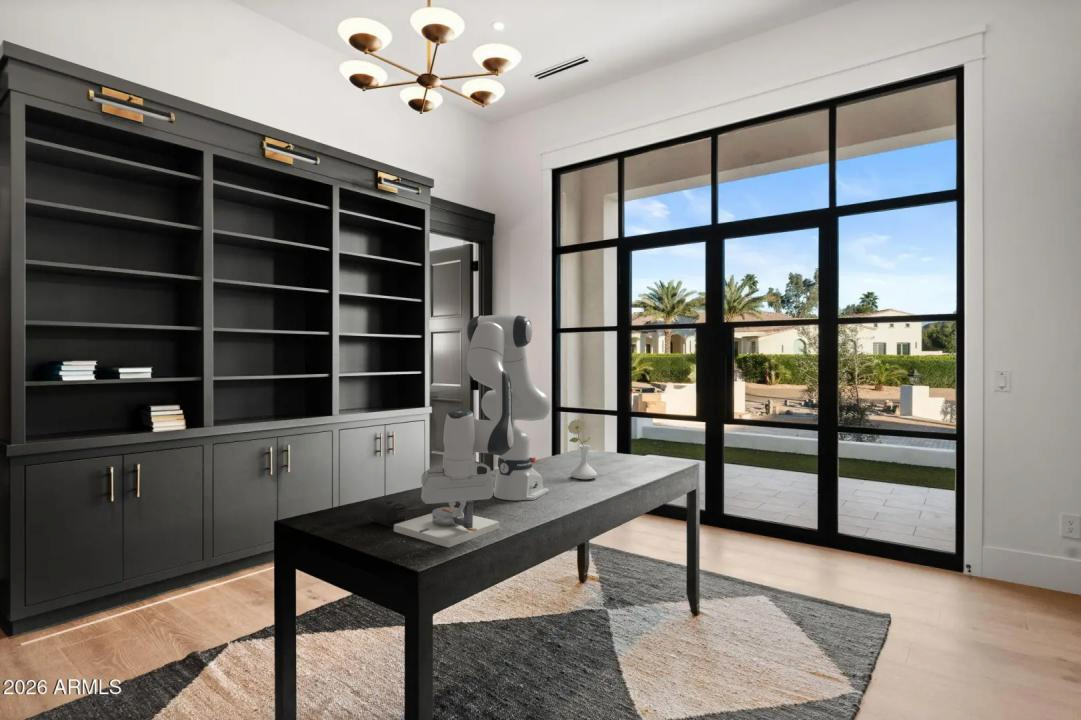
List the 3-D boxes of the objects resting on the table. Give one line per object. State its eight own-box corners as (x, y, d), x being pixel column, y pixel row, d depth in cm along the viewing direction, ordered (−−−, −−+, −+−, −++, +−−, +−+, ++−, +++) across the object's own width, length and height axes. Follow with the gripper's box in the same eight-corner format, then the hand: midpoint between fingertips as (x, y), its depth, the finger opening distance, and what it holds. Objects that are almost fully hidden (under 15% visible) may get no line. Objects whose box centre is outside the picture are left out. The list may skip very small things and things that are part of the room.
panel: (446, 514, 192) (446, 507, 192) (499, 528, 180) (499, 520, 180) (393, 531, 174) (393, 523, 174) (448, 547, 162) (448, 538, 162)
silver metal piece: (426, 520, 177) (426, 494, 177) (451, 515, 183) (451, 489, 183) (457, 533, 166) (458, 505, 166) (483, 527, 172) (483, 500, 172)
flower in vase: (597, 476, 255) (599, 418, 254) (596, 482, 244) (598, 421, 243) (567, 474, 257) (569, 416, 256) (564, 480, 246) (566, 420, 245)
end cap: (365, 524, 181) (366, 501, 181) (385, 518, 187) (385, 497, 186) (386, 531, 175) (387, 508, 175) (405, 525, 181) (406, 503, 180)
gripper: (424, 472, 160) (423, 523, 161) (495, 467, 169) (494, 516, 169) (419, 467, 166) (417, 516, 166) (488, 463, 175) (486, 510, 175)
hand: (457, 516), depth 168 cm, fingers closed
